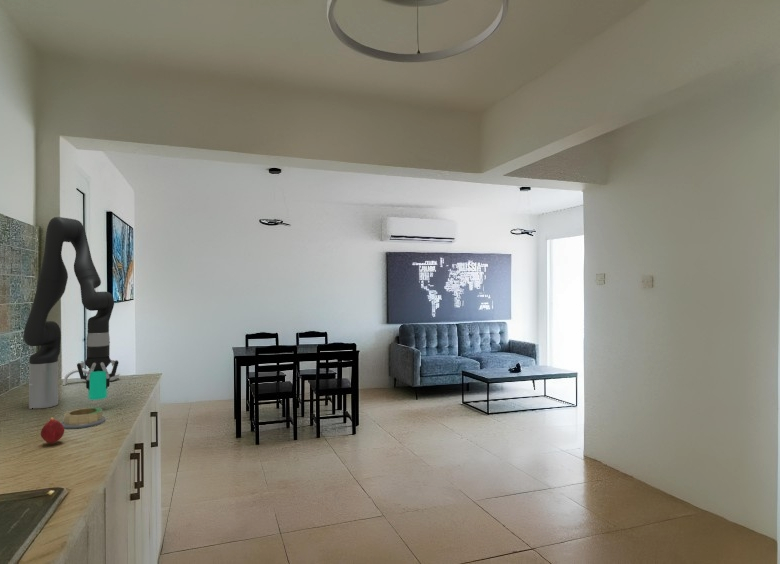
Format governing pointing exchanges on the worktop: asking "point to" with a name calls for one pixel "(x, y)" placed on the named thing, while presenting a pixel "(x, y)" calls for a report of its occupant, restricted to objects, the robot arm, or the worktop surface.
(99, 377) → the candle
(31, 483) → the worktop surface
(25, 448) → the worktop surface
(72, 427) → the dish
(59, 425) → the onion
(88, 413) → the collar
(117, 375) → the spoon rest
